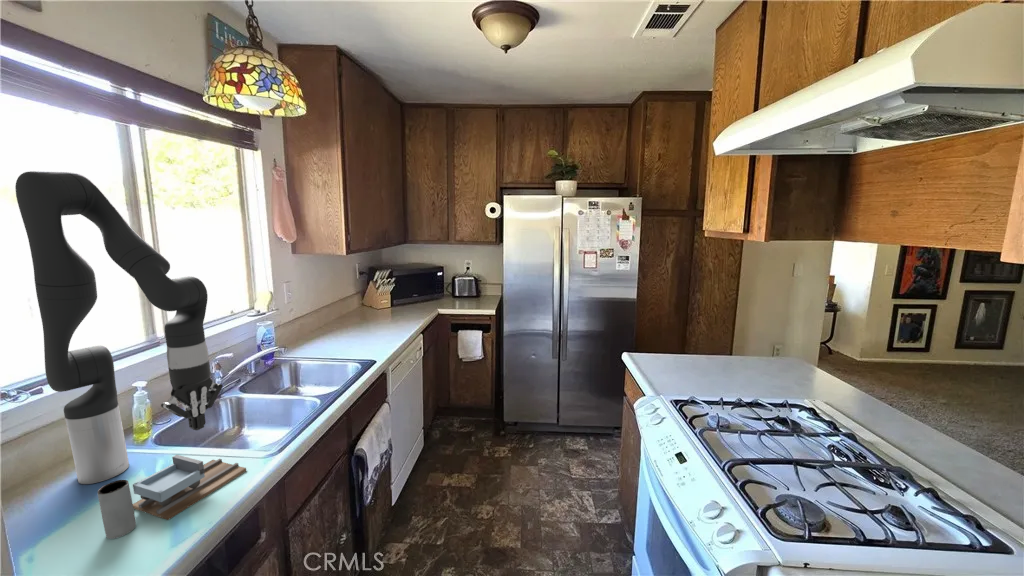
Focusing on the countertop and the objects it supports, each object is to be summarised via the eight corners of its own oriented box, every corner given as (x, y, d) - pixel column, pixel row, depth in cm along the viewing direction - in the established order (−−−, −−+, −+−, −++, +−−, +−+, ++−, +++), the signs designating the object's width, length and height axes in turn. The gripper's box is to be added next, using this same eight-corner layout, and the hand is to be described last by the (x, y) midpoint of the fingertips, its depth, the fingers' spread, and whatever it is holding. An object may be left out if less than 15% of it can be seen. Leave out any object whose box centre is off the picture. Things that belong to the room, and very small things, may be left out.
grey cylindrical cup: (117, 540, 80) (108, 495, 78) (100, 537, 80) (91, 492, 79) (142, 524, 84) (134, 480, 82) (125, 521, 85) (117, 478, 83)
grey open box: (135, 501, 88) (131, 477, 87) (180, 476, 97) (176, 454, 96) (162, 510, 85) (158, 485, 84) (206, 484, 94) (202, 461, 93)
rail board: (131, 507, 89) (130, 501, 88) (213, 462, 106) (212, 456, 105) (167, 520, 85) (166, 513, 85) (246, 470, 102) (245, 465, 102)
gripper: (206, 350, 100) (214, 413, 103) (145, 369, 88) (156, 440, 91) (228, 354, 98) (235, 418, 101) (168, 373, 86) (179, 446, 89)
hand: (197, 428), depth 96 cm, fingers closed
